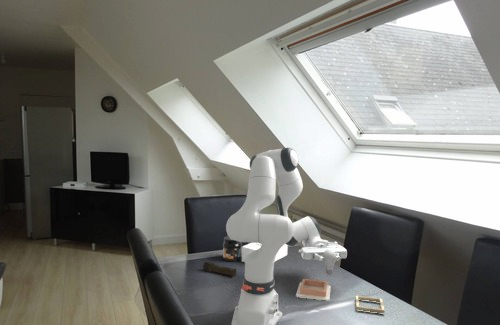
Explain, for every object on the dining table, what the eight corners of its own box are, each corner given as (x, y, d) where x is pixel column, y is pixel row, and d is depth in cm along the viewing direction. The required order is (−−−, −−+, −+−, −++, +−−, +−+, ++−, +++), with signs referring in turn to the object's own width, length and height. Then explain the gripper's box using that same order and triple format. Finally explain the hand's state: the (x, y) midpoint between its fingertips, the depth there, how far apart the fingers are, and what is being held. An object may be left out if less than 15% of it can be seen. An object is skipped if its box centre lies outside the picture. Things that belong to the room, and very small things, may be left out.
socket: (329, 301, 147) (329, 293, 147) (295, 297, 151) (295, 289, 151) (330, 287, 161) (330, 280, 160) (300, 284, 164) (300, 276, 164)
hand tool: (237, 275, 174) (237, 266, 174) (232, 278, 171) (232, 269, 170) (206, 268, 184) (206, 259, 184) (201, 270, 180) (201, 261, 180)
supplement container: (218, 259, 196) (219, 238, 195) (230, 254, 205) (230, 234, 204) (233, 263, 190) (234, 241, 189) (245, 258, 199) (245, 237, 198)
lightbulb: (326, 271, 156) (326, 246, 155) (339, 274, 152) (339, 249, 151) (319, 275, 151) (319, 250, 150) (332, 278, 147) (332, 253, 146)
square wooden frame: (384, 315, 137) (384, 310, 136) (356, 311, 139) (356, 306, 139) (381, 303, 147) (382, 298, 146) (355, 299, 149) (355, 295, 149)
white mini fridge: (241, 262, 193) (241, 242, 193) (266, 250, 214) (266, 232, 213) (263, 268, 185) (263, 247, 184) (287, 255, 205) (287, 237, 204)
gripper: (297, 242, 162) (306, 252, 148) (339, 241, 165) (352, 250, 151) (297, 256, 162) (306, 267, 149) (339, 254, 165) (352, 265, 152)
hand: (330, 259), depth 150 cm, fingers closed on lightbulb, 6 cm apart
